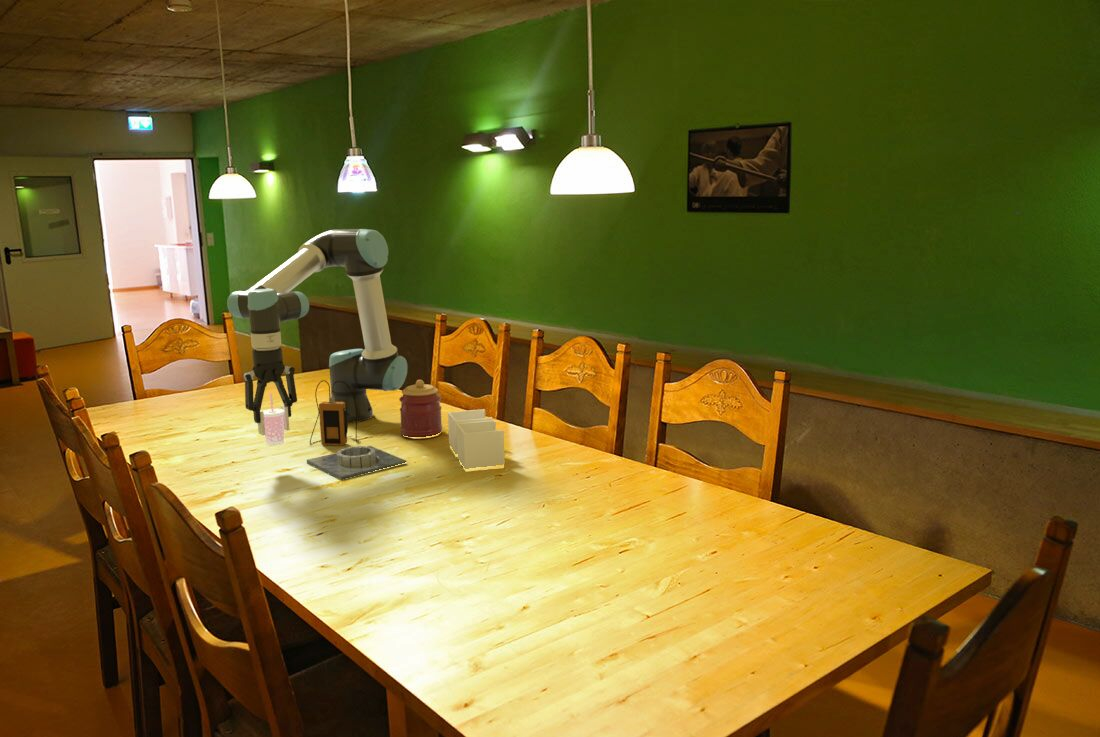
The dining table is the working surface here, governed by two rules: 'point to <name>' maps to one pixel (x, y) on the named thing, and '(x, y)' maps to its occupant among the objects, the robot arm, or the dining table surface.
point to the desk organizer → (475, 439)
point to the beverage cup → (274, 425)
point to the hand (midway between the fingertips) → (274, 431)
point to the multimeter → (333, 421)
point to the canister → (420, 410)
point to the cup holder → (355, 461)
